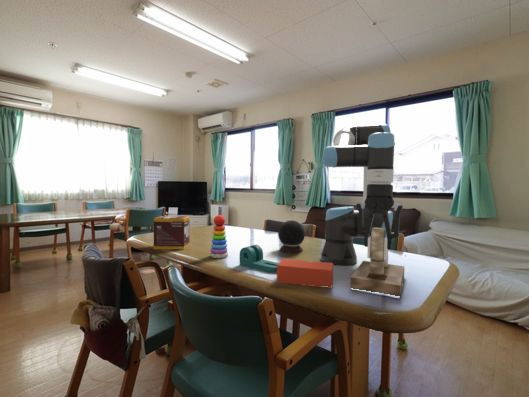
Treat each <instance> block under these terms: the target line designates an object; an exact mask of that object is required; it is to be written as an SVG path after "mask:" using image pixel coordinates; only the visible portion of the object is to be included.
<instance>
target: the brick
mask: <svg viewBox="0 0 529 397" xmlns="http://www.w3.org/2000/svg"><path fill="white" fill-rule="evenodd" d="M278 263H279V264H278V265H277V273H276V282H277V283H279V284H280V283H281V284H288V283H291V285H297V284H305V285H304V286H306V285H314V286H313V287H315V286H328V287H331V286H332V287H333V282H332V281H333V280H334V264H333V263H327V262H324V261H308V260H301V259H289V258H282V259H281V260H280V262H278Z"/></svg>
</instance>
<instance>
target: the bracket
mask: <svg viewBox="0 0 529 397" xmlns="http://www.w3.org/2000/svg"><path fill="white" fill-rule="evenodd" d="M279 263H280V262H276V261H272V260H267V259H264V250H263V249H262V247H261V246H260V245H259V244H252V245H250V246H245V247H242V248H241V249H240V251H239V266H241V267H244V268H249V269H253V270H258V271H261V272H266V273H270V274H277V265H278V264H279Z"/></svg>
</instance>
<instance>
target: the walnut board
mask: <svg viewBox="0 0 529 397" xmlns="http://www.w3.org/2000/svg"><path fill="white" fill-rule="evenodd" d="M403 279H404V280H405V265H404V266H403V265H398V264H389V258H388V259H387V260H385V261H384V274H382V275H377V274H372V273H370V260H369V261H368V260H362V262H361V263H360V265H359V266H358V267H357V269H356V270H355V271H354V272H353V273H352V275H351V276H350V288H353V289H359V290H366V291H371V292H379V293H384V294H390V295H395V296H400V294H401V295H402V291H401V289H403V286H402V284H403V285H404V280H403ZM350 288H349V289H350ZM400 297H401V296H400Z"/></svg>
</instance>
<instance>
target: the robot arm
mask: <svg viewBox="0 0 529 397" xmlns="http://www.w3.org/2000/svg"><path fill="white" fill-rule="evenodd" d="M332 142H333V145H329V146H325V147H324V148H323V155H322V157H323V158H322V160H323V161H322V162H323V165H324V167H326V168H363V187H362V189H363V190H362V191H363V194H362V195H363V196H362V198H363V199H362V202H360V203H357V204H356V209H355V207H354V206H341V207H332V208H328V209H327V210H326V213H325V218H324V219H325V220H324V221H325V235H324V236H325V238H324V239H325V241H324V244H323V248H322V250H321V253H320V260H321V262H327V263H333V265H338V266H352V265H355V264H356V263H358V256H357V252H356V249H355V246H354V239H357V238H358V239H363V240H364V245H363V246H364V247H365V248H367V259H370V258H371V228H384V229H385V242H384V260H387V259H388V260H389V250H392V248H393V239H395V238H396V239H397V238H399V235H400V222H401V212H402V210H403V207H404V205H402V204H398V203H396V202H395V201H394V199H393V198H394V197H393V196H394V194H393V193H394V192H393V191H394V185H393V184H392V183H393V182H394V161H395V160H394V159H395V146H396V142H395V135H394V133H392V132H391V127H390V126H389V124H387V123H379V122H378V123H374V124H370V123H369V124H355V125H354V124H353V125H350V126H345V127H343V128H342V129H340V130H338V131H337V132H336V133H335V134H334V136H333V140H332ZM391 208H393V210H394V211H395V213H393V211H391ZM393 216H394V217H393ZM393 219H394V228H393V233H392V226H393Z"/></svg>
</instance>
